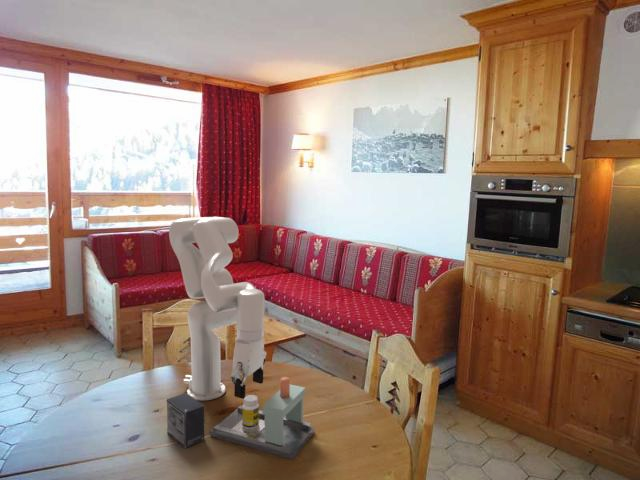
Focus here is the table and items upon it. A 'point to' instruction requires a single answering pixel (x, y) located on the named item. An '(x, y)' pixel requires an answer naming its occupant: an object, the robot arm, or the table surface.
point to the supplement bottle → (250, 412)
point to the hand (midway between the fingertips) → (249, 389)
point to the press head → (282, 410)
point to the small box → (185, 420)
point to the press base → (255, 438)
